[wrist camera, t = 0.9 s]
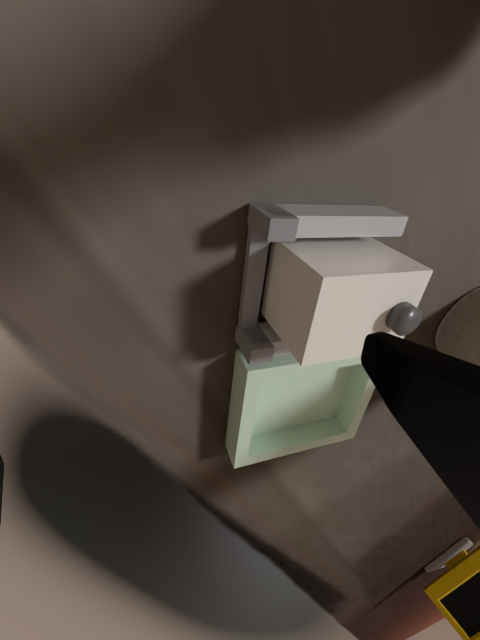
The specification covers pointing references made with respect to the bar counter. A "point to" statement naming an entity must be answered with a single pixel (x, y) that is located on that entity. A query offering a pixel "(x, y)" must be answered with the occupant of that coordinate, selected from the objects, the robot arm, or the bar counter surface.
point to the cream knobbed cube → (340, 295)
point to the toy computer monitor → (458, 588)
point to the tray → (293, 406)
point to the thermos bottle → (461, 329)
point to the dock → (286, 227)
